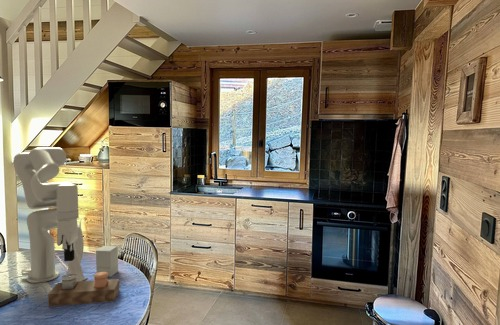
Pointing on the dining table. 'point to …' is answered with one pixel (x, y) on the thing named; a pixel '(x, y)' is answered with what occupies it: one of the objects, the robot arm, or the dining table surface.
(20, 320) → the dining table surface
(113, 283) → the plug block
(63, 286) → the plug
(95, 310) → the dining table surface
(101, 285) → the terracotta plug
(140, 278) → the dining table surface
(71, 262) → the skyscraper
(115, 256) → the supplement box
